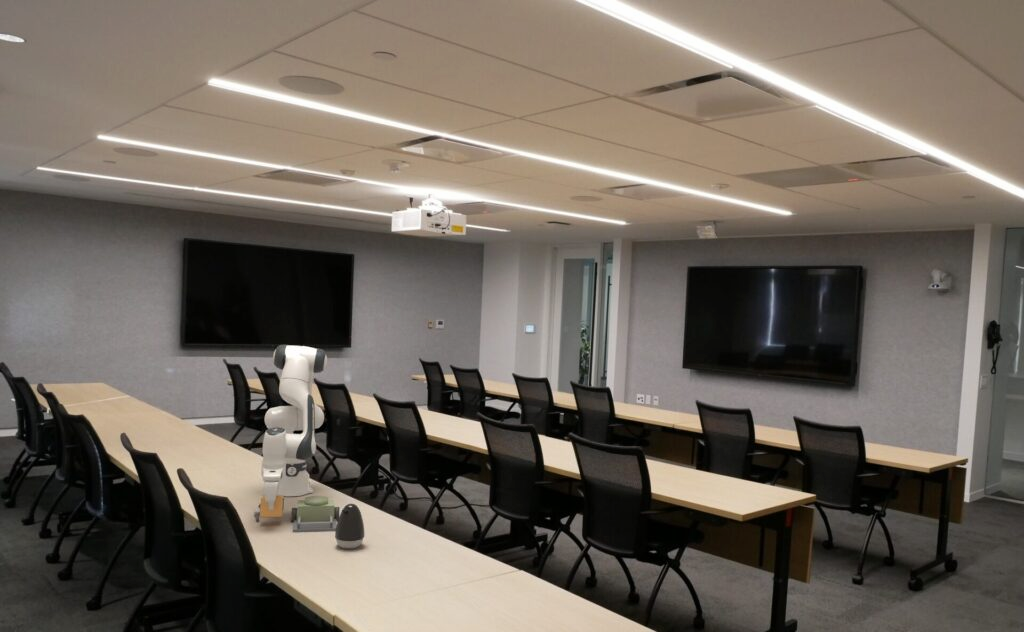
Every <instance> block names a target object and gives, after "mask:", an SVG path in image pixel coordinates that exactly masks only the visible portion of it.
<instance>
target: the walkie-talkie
mask: <svg viewBox="0 0 1024 632" xmlns="http://www.w3.org/2000/svg"><path fill="white" fill-rule="evenodd" d="M260 506H261V502H260V503H259V505H258V506H257V508H255V509H254V512H253V513H254V514H253V517H254V518H255V520H256V521H260V518H261V517H260Z"/></svg>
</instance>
